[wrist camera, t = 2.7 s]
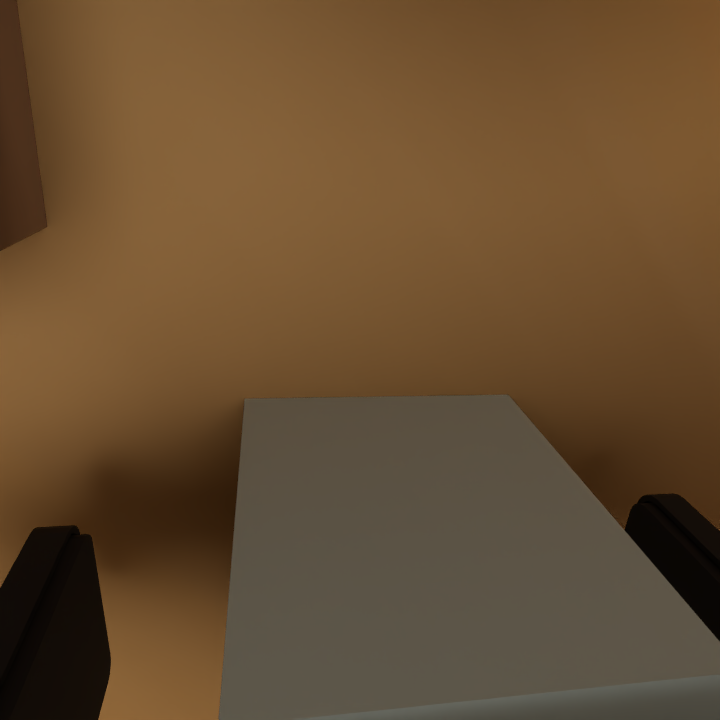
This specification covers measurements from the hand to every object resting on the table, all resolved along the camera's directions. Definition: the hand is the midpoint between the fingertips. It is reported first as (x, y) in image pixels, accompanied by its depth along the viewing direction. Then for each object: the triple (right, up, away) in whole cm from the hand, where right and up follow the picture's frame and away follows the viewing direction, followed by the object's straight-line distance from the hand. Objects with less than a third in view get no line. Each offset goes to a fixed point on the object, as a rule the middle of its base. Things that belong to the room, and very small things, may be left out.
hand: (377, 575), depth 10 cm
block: (0, +1, +2) cm, 2 cm away
